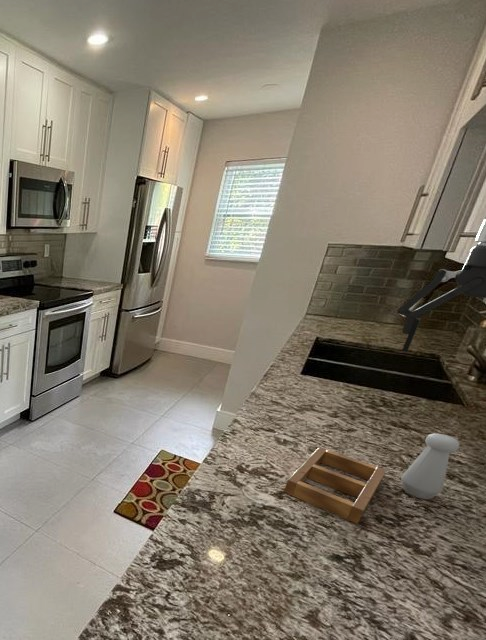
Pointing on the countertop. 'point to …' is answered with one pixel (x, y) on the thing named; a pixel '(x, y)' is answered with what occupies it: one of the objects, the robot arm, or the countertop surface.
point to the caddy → (336, 483)
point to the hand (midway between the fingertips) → (452, 358)
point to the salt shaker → (429, 467)
